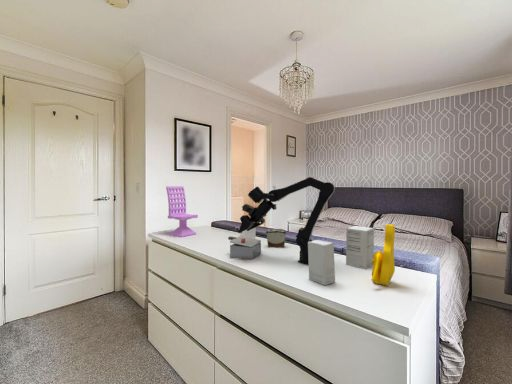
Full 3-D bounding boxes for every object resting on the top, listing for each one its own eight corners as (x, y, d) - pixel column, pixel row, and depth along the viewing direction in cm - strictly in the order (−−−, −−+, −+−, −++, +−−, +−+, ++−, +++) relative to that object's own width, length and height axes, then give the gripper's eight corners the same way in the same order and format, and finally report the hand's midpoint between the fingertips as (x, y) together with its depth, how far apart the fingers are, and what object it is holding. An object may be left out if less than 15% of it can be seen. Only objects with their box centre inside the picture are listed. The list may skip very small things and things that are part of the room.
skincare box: (335, 282, 94) (335, 242, 94) (324, 286, 91) (324, 244, 90) (317, 275, 101) (318, 238, 101) (307, 279, 97) (307, 240, 97)
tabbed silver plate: (260, 241, 133) (261, 237, 133) (252, 247, 122) (252, 242, 122) (234, 236, 138) (234, 232, 138) (223, 241, 127) (224, 236, 127)
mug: (257, 242, 160) (257, 226, 160) (254, 245, 151) (254, 228, 151) (240, 241, 162) (240, 225, 161) (236, 244, 153) (236, 227, 153)
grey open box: (260, 253, 133) (260, 242, 133) (252, 260, 122) (252, 247, 122) (240, 251, 137) (240, 240, 137) (230, 257, 126) (230, 245, 126)
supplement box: (354, 260, 122) (354, 225, 121) (374, 264, 116) (374, 227, 115) (345, 264, 115) (345, 227, 115) (366, 269, 109) (366, 230, 108)
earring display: (181, 237, 173) (181, 186, 172) (165, 234, 182) (165, 186, 181) (197, 234, 185) (197, 186, 184) (181, 231, 195) (181, 186, 194)
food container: (286, 245, 152) (286, 228, 152) (286, 247, 146) (286, 230, 145) (266, 244, 153) (266, 228, 153) (265, 247, 147) (265, 230, 147)
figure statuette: (375, 273, 103) (376, 220, 103) (397, 278, 99) (398, 221, 98) (366, 288, 89) (366, 226, 88) (391, 294, 84) (392, 228, 84)
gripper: (259, 198, 137) (241, 218, 141) (243, 198, 120) (223, 221, 124) (273, 213, 133) (254, 233, 138) (258, 215, 116) (238, 238, 121)
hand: (242, 231), depth 130 cm, fingers open, 9 cm apart
